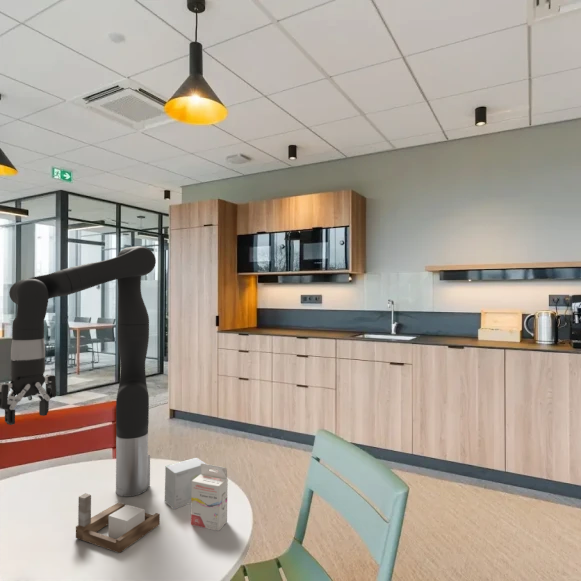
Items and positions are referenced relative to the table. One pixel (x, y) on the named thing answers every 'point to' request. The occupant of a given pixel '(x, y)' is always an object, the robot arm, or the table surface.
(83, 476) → the table surface
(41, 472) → the table surface
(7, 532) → the table surface
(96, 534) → the pull frame
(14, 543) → the table surface
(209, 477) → the ink cartridge box
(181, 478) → the skincare box
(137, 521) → the white cube
